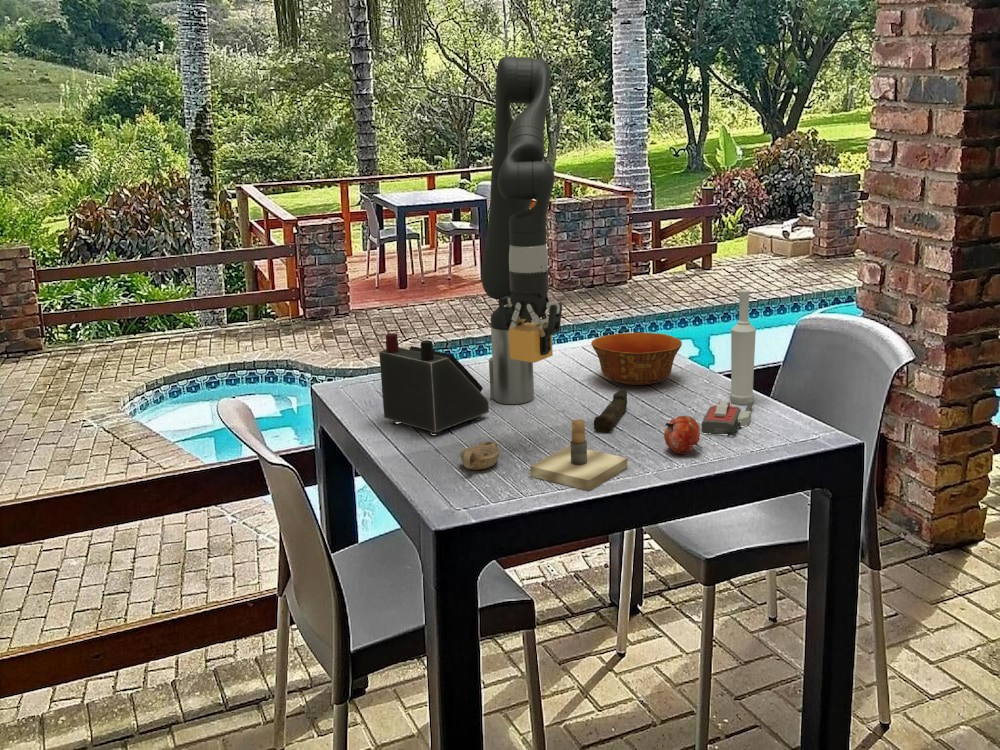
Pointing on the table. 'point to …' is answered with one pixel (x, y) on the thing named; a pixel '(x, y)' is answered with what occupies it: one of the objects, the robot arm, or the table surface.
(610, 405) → the hand tool
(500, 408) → the table surface
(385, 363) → the voltmeter
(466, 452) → the oil lamp
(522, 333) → the mustard yellow cube
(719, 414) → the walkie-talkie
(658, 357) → the bowl
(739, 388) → the bottle
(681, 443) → the pomegranate
